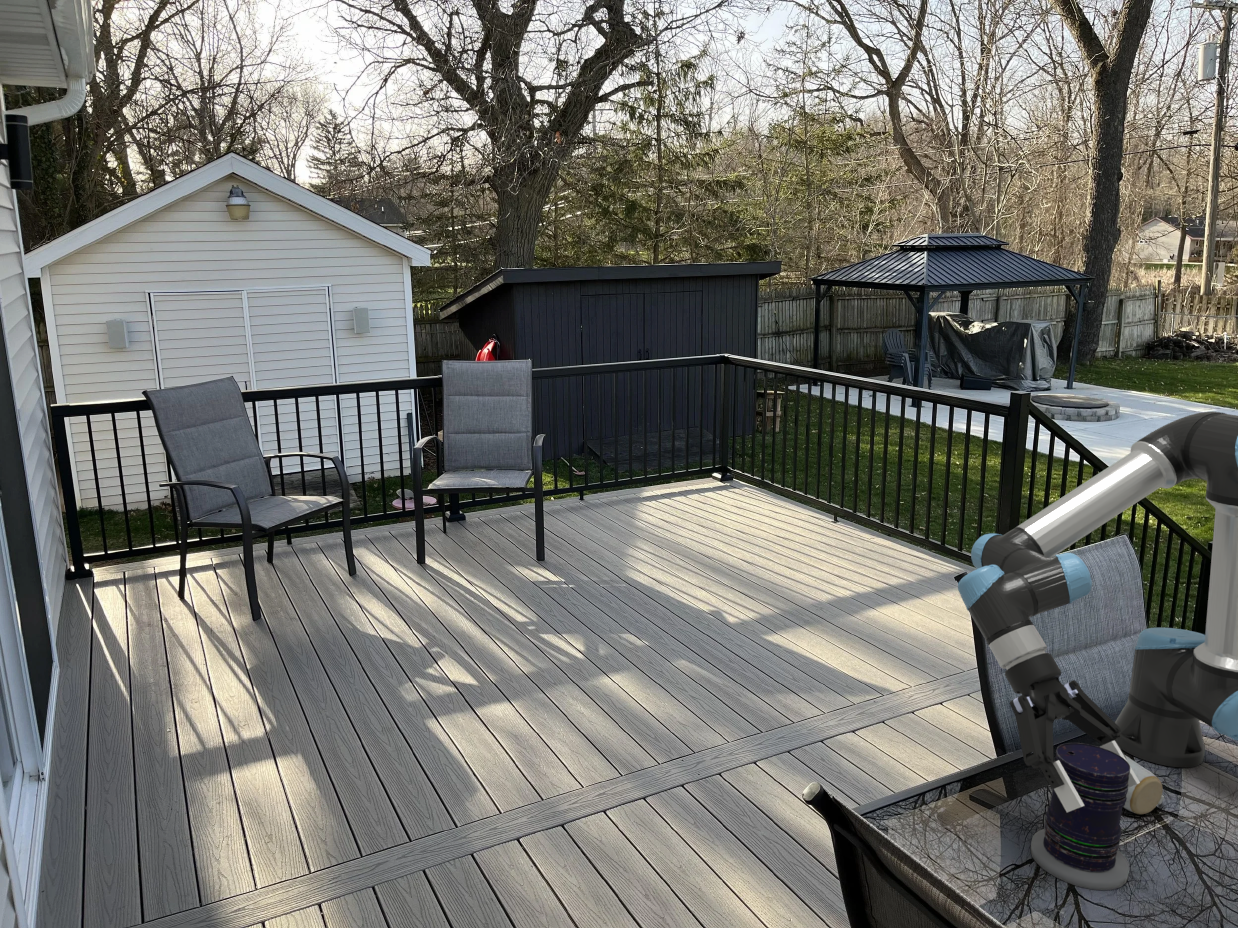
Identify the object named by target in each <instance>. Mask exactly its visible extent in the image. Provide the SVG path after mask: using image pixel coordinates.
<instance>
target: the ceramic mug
mask: <svg viewBox="0 0 1238 928" xmlns="http://www.w3.org/2000/svg"><path fill="white" fill-rule="evenodd" d="M1124 755H1125V754H1124ZM1125 757H1126V759H1127V762H1128V763H1129V765H1130V767H1131V768H1132V770H1133V772H1134V773H1135V775H1136V777H1137V778H1138V780H1139V782H1140V783H1139V784H1136V785H1134V786H1131V787H1129V788H1128V792H1127V795H1126V797H1127V800H1126V802H1125V805H1124V807H1123V808H1124V809H1125V810H1127V811H1129V812H1132V813H1134V814H1136V815H1144V814H1149V813H1150V812H1152V811H1154V809H1155V808H1156V807H1157V806H1158V805H1159V806H1160V805H1161V804H1162V803H1163V801H1164V799H1165V796H1164V795H1163V792H1164V790H1163V789H1164V788H1163V783H1162V781H1161V780H1160V779H1159V778H1158V777H1157V776H1156V775H1155V774H1154V773H1153V772H1151V771H1150V770H1148V769H1147V768H1145V767H1143V766H1142V765H1140V764H1139V763H1138V762H1136V761H1135V760H1134V759H1131V758H1130V757H1129V756H1127V755H1125Z"/></svg>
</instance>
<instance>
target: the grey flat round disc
mask: <svg viewBox="0 0 1238 928" xmlns="http://www.w3.org/2000/svg"><path fill="white" fill-rule="evenodd" d="M1044 837H1045V828H1043V829H1040V830H1038V831H1036V832H1035V833H1034V834H1033V835H1032V837H1031V838H1032V839H1031V842H1030V855H1031V857H1032V859H1033V860H1034V861H1035V863H1036V864H1037V865H1038V867H1040V868H1041V869H1043V870H1044V871H1045V872H1046V873H1048V874H1049V875H1051V876H1053V877H1055V878H1057V879H1059V880H1061V881H1063V882H1065V883H1067V884H1070V885H1073V886H1077V887H1079V888H1083V889H1089V890H1095V891H1110V890H1111V891H1112V890H1117V889H1119V888H1121V887H1123V886H1124V885H1126V883H1127V881H1128V878H1129V871H1130V864H1129V861H1128V859H1127V858H1126V856H1125V855H1124V854H1123V853H1122V852H1121V851H1120V850H1119V849H1118V851H1117V855H1116V856H1115V857H1116V863H1115V866H1114V867H1113V868H1112V869H1111V870H1109V871H1105V872H1089V871H1084V870H1080V869H1076V868H1073V867H1070V866H1068V865H1066V864H1064V863H1062V862H1060V861H1058V860H1057V859H1055V858H1054V857H1052V856H1051V855H1050V854H1049V853H1048V852H1047V851H1046V849H1045V848H1044V845H1043V841H1044Z"/></svg>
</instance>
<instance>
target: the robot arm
mask: <svg viewBox="0 0 1238 928" xmlns="http://www.w3.org/2000/svg"><path fill="white" fill-rule="evenodd" d="M1191 479H1200V480H1203V481H1206V488H1205V489H1206V491H1205V500H1206V501H1208V503H1209V504H1210V505H1211V506H1212V507H1213V508H1214V509H1215V510H1214V511H1215V513H1214V514H1215V515H1214V525H1213V536H1212V538H1213V539H1212V549H1211V561H1210V562H1211V563H1210V575H1209V584H1208V585H1209V587H1208V598H1207V599H1208V600H1207V610H1206V620H1205V622H1206V623H1205V633H1201V632H1197V631H1192V630H1188V629H1184V628H1183V629H1182V628H1175V627H1174V628H1173V627H1150V628H1146V629H1143V630H1142V631H1140V633H1139V635H1138V638H1137V642H1136V646H1135V647H1134V655H1133V663H1132V670H1131V676H1130V677H1131V678H1130V685H1129V689H1128V690H1129V691H1128V698H1127V701H1126V702H1125V703H1126V704H1125V705H1124V707H1123V709H1122V710H1121V711H1120V712H1119V715H1118V717H1117V718H1116V720H1115V721H1114V720H1113V719H1111V717H1110V716H1108V714H1107V713H1106V712H1104V710H1102V709H1101V707H1099V705H1097V703H1095V702H1094V700H1092V698H1090V697H1089V696H1088V695H1087V694H1086V692H1084V690H1083V689H1082V687H1081V686H1080V685H1079V683H1078V681H1076V680H1071V681H1069V682H1066V683H1065V684H1063V683H1062V682H1061V681H1060V677H1061V676H1062V670H1061V669H1060V667H1059V665H1058V664H1057V661H1055V658H1054V657H1053V655H1052V653H1049V652H1046V651H1047V648H1048V646H1047V644H1046V643H1045V641H1044V639H1043V637H1042V636H1041V634H1040V633H1039V631H1038V630H1037V628H1036V626H1035V625H1034V623H1033V621H1032V620H1031V618H1032V617H1035V616H1037V615H1040V614H1043V613H1046V612H1049V611H1051V610H1054V609H1058V608H1060V607H1064V606H1065V605H1070V604H1072V603H1073V602H1075V601H1077V600H1080V599H1082V598H1084V597H1086V596H1087V595H1089V594H1090V592H1091V590H1092V586H1093V582H1092V577H1091V573H1090V570H1089V568H1088V566H1087V565H1086V563H1085V562H1084V561H1083V559H1082V558H1081V557H1079V556H1078V555H1077V554H1075V553H1073V552H1064V553H1061V552H1063V551H1064V550H1065V549H1067V548H1068V547H1070V546H1072V545H1074V544H1076V542H1078V541H1080V540H1081V539H1082V538H1084V537H1086V536H1088V535H1089V534H1090V533H1092V532H1094V531H1095V530H1097V529H1098V528H1099V527H1101V526H1103V525H1104V524H1106V523H1107V522H1109V521H1110V520H1112V519H1114V518H1115V517H1117V516H1118V515H1119V514H1121V513H1123V512H1125V511H1126V510H1127V509H1129V508H1130V507H1132V506H1134V505H1136V503H1138V502H1140V501H1141V500H1143V499H1145V498H1146V497H1148V496H1149V495H1151V494H1152V493H1154V492H1155V491H1157V490H1158V489H1160V488H1162V489H1171V488H1173V487H1174V486H1176V485H1177V484H1179V483H1181V482H1183V481H1186V480H1191ZM1060 553H1061V554H1060ZM970 557H971V562H972V565H973V566H974V567H975V569H974V570H972V571H971V572H969V573H967V574H966V575H964V576H963V577H962V578H961V579H960V580H959V581H958V583H957V590H958V593H959V595H960V598H961V600H962V601H963V603H964V606H965V608H966V610H967V612H969V614H970V616H971V618H972V619H973V622H974V623H975V624H976V627H977V628H978V629H979V631H980V633H981V635H982V636H983V638H984V640H985V641H986V644H987V646H988V647H989V648H990V650H991V652H992V653H993V656H994V657H995V659H996V661H997V663H998V665H999V667H1000V668H1001V669H1003V670H1005V669H1006V670H1005V671H1004V676H1005V678H1006V680H1007V681H1008V684H1009V685H1010V687H1011V689H1012V690H1013V692H1014V693H1015V694H1017V695H1020V696H1018V697H1016V698H1014V699H1012V700H1010V701H1009V706H1010V708H1011V710H1012V712H1013V714H1014V716H1015V722H1016V725H1017V726H1016V727H1017V731H1018V737H1019V740H1020V746H1021V750H1022V757H1023V762H1024V763H1025V765H1026V766H1028V767H1031V768H1032V769H1033V770H1038V769H1040V770H1041V772H1042V773H1043V776H1044V777H1045V779H1046V781H1047V782H1048V785H1049V786H1050V788H1051V789H1052V790H1053V789H1054V790H1055V792H1056V794H1057V796H1058V797H1059V799H1060V801H1061V803H1062V805H1063V806H1064V808H1065V810H1066V812H1070V811H1072V810H1075V809H1077V808H1080V807H1082V806H1085V805H1084V804H1083V802H1082V800H1081V798H1080V796H1079V795H1078V793H1077V791H1076V789H1075V788H1074V786H1073V784H1072V782H1071V781H1070V779H1069V777H1068V775H1067V773H1066V772H1065V770H1064V768H1063V766H1062V765H1061V763H1060V761H1059V760H1058V761H1055V760H1054V725H1053V724H1054V722H1055V720H1056V721H1057V720H1060V719H1062V720H1065V721H1069V723H1072V724H1073V725H1074V726H1075V727H1077V728H1078V729H1079V730H1081V731H1082V732H1083V733H1085V734H1086V735H1087V736H1089V737H1090V738H1092V739H1093V740H1095V741H1096V742H1097V743H1099V744H1100V746H1099V747H1101V748H1104V749H1107V750H1109V751H1112V752H1114V753H1116V754H1118V755H1119V756H1121V757H1122V758H1124V759H1125V760H1126V761H1127V759H1126V757H1125V753H1128V754H1129V755H1130V756H1131V755H1132V756H1133V757H1136V758H1139V759H1140V760H1143V761H1146V762H1150V763H1154V764H1157V765H1161V766H1166V767H1173V768H1192V767H1193V768H1195V767H1197V766H1200V765H1201V764H1202V763H1203V762H1204V757H1205V753H1206V752H1205V751H1206V746H1205V741H1204V736H1203V733H1202V732H1203V731H1202V726H1201V722H1202V723H1204V724H1205V725H1207V726H1209V727H1211V728H1213V729H1214V731H1215V732H1216V733H1218V734H1221V735H1222V736H1223V735H1224V736H1226V737H1228V738H1230V739H1232V740H1234V741H1236V742H1238V414H1237V415H1236V414H1228V413H1225V412H1219V411H1204V412H1198V413H1197V412H1196V413H1193V414H1189V415H1185V416H1183V417H1181V418H1178V419H1176V420H1173V421H1170V422H1168V423H1167V424H1165V425H1163V426H1161V427H1159V428H1157V429H1155V430H1153V431H1151V432H1150V433H1148V434H1146V435H1145V436H1144V437H1142V438H1140V439H1139V440H1137V441H1136V442H1134V443H1133V444H1132V445H1131V446H1130V452H1129V453H1128V454H1126V455H1125V456H1124V457H1122V458H1120V459H1119V460H1117V461H1116V462H1114V463H1113V464H1111V465H1109V466H1108V467H1106V468H1105V469H1103V470H1102V471H1100V472H1099V473H1097V474H1096V475H1094V476H1092V477H1091V478H1089V479H1088V480H1087V481H1084V482H1083V483H1082V484H1080V485H1079V486H1077V487H1076V488H1074V489H1072V490H1071V491H1070V492H1068V493H1066V494H1065V495H1064V496H1062V497H1061V498H1059V499H1057V500H1056V501H1053V503H1051V504H1049V505H1048V506H1046V507H1045V508H1043V509H1042V510H1040V511H1039V512H1036V514H1034V515H1033V516H1031V517H1030V518H1028V519H1027V520H1025V521H1023V522H1022V523H1020V524H1019V525H1017V526H1016V527H1014V528H1013V529H1011V530H1009V531H1008V532H1006V533H1005V534H1001V533H1000V534H999V533H993V532H992V533H985V534H983V535H981V536H979V538H978V539H977V540H975V542H974V543H973V545H972V548H971V552H970ZM1123 751H1124V752H1125V753H1124V752H1123ZM1139 783H1140V782H1139V780H1138V778H1137V777H1136V775H1135V773H1134V772H1133V770H1132V768H1131V767H1130V774H1129V780H1128V784H1129V786H1128V788H1129V787H1131V786H1134V785H1136V784H1139Z"/></svg>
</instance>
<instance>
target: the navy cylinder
mask: <svg viewBox="0 0 1238 928" xmlns="http://www.w3.org/2000/svg"><path fill="white" fill-rule="evenodd" d="M1055 752H1056V753H1055V757H1054V758H1055V759H1054V762H1055V761H1058V760H1059V761H1060V763H1061V765H1062V766H1063V768H1064V770H1065V772H1066V773H1067V775H1068V777H1069V779H1070V781H1071V782H1072V784H1073V786H1074V788H1075V789H1076V791H1077V793H1078V795H1079V796H1080V798H1081V800H1082V802H1083V804H1084V805H1085V806H1082V807H1080V808H1077V809H1075V810H1072V811H1070V812H1066V810H1065V808H1064V806H1063V805H1062V803H1061V801H1060V799H1059V797H1058V796H1057V794H1056V792H1055V790H1054V789H1053V788H1052V792H1051V799H1050V805H1049V806H1048V807H1047V809H1046V813H1045V815H1046V817H1045V821H1044V829H1045V837H1044V841H1043V845H1044V848H1045V849H1046V851H1047V852H1048V853H1049V854H1050V855H1051V856H1052V857H1054V858H1055V859H1057V860H1058V861H1060V862H1062V863H1064V864H1066V865H1068V866H1070V867H1073V868H1076V869H1080V870H1084V871H1089V872H1105V871H1109V870H1111V869H1112V868H1113V867H1114V866H1115V863H1116V857H1115V856H1116V855H1117V851H1118V850H1119V848H1120V844H1121V843H1120V842H1121V840H1120V839H1121V837H1122V827H1121V817H1122V811H1123V808H1124V805H1125V802H1126V800H1127V797H1126V795H1127V792H1128V786H1129V784H1128V780H1129V774H1130V765H1129V763H1128V762H1127V761H1126V760H1125V759H1124V758H1122V757H1121V756H1119V755H1118V754H1116V753H1114V752H1112V751H1109V750H1107V749H1104V748H1101V747H1100V746H1096V745H1092V744H1089V743H1083V742H1081V743H1080V742H1068V743H1063V744H1060V745H1058V746H1057V748H1056V750H1055Z"/></svg>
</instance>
